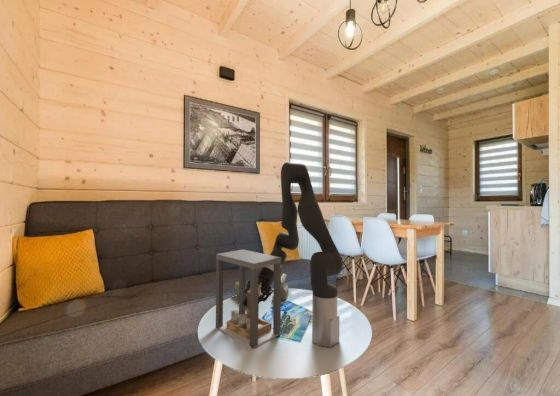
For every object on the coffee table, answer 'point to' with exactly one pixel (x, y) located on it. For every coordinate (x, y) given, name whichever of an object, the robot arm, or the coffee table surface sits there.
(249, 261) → the grey stool
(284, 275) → the digital clock
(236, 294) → the handheld radio
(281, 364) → the coffee table surface
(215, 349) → the coffee table surface
